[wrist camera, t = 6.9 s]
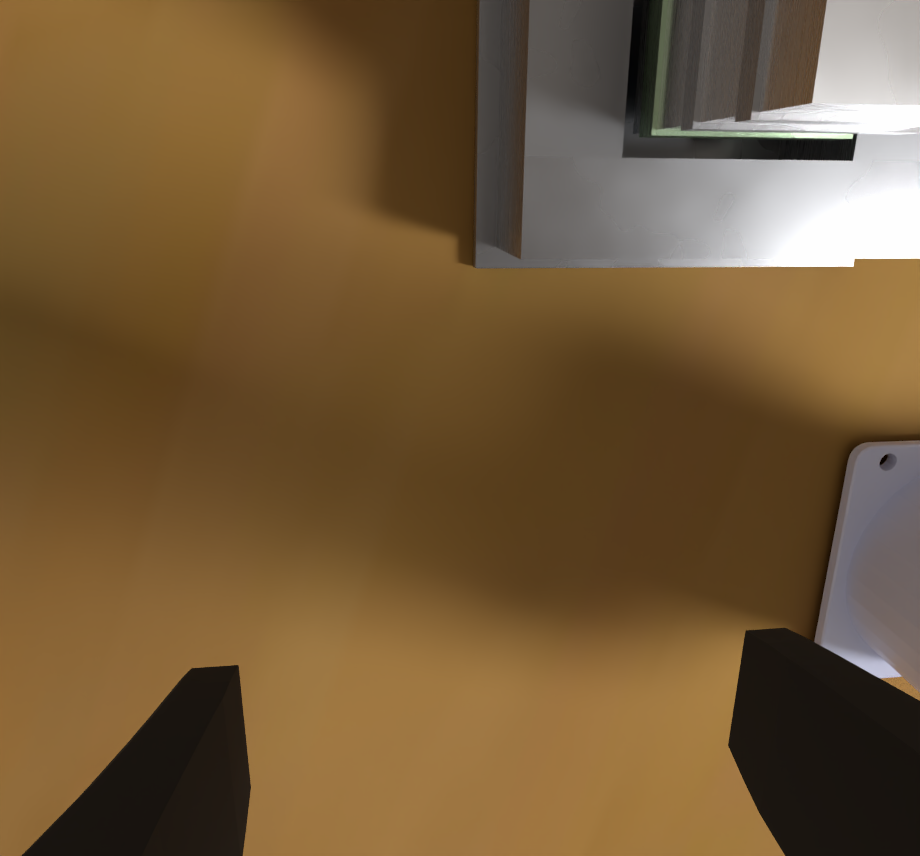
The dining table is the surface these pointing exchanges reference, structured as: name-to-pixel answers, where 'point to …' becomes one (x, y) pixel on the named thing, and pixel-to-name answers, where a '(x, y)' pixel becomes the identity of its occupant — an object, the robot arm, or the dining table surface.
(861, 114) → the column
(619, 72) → the stand base
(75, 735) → the dining table surface
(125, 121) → the dining table surface
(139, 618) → the dining table surface
